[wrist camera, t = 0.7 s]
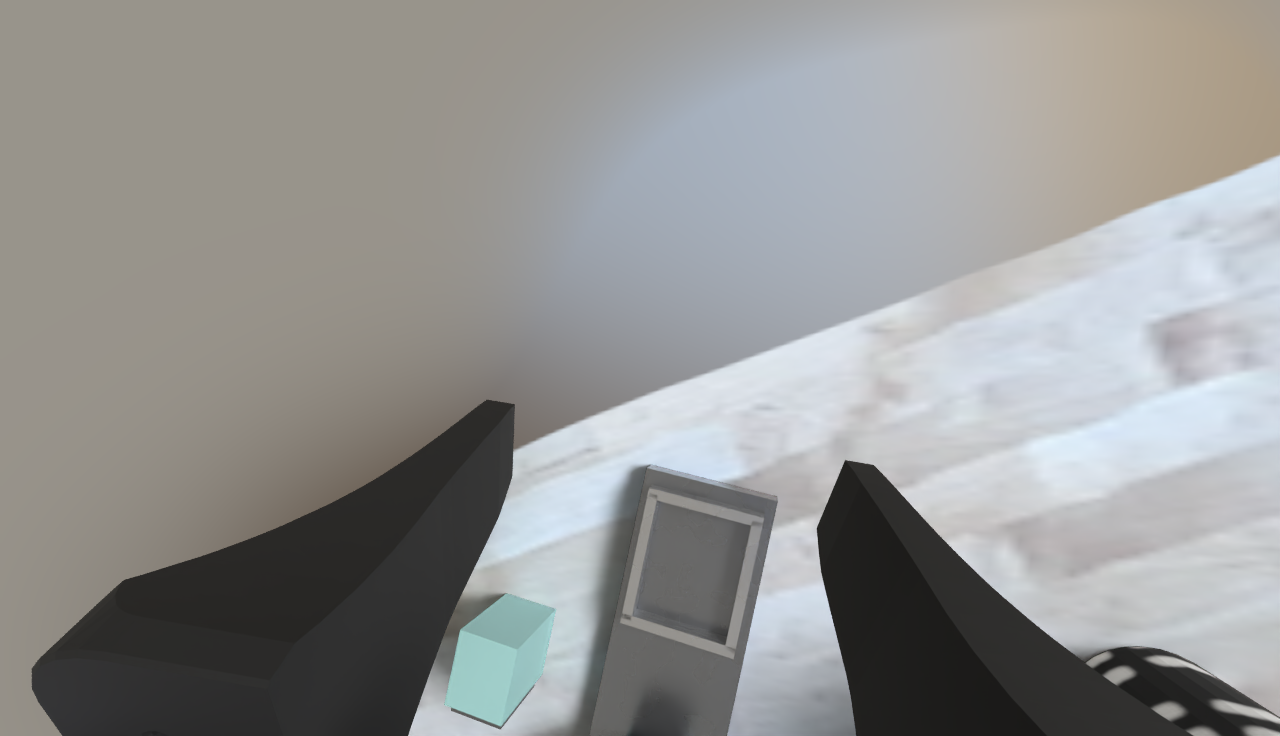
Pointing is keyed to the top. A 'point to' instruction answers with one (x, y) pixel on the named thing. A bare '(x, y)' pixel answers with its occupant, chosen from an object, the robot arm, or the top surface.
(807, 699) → the top surface
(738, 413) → the top surface
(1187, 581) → the top surface
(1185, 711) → the white-spotted black cylinder
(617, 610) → the grey long flat piece
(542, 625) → the pale aqua cube
